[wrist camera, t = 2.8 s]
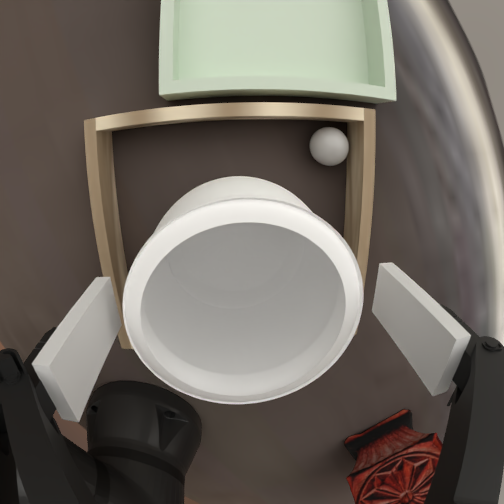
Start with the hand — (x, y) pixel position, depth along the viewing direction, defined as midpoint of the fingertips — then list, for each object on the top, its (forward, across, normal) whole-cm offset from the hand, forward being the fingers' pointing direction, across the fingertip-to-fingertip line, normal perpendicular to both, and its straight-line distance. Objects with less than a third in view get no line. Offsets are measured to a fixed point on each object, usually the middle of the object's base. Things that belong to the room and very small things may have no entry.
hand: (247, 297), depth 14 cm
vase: (+13, +22, -36) cm, 44 cm away
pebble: (+13, +7, +6) cm, 16 cm away
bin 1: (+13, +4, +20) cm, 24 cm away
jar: (+13, 0, 0) cm, 13 cm away
